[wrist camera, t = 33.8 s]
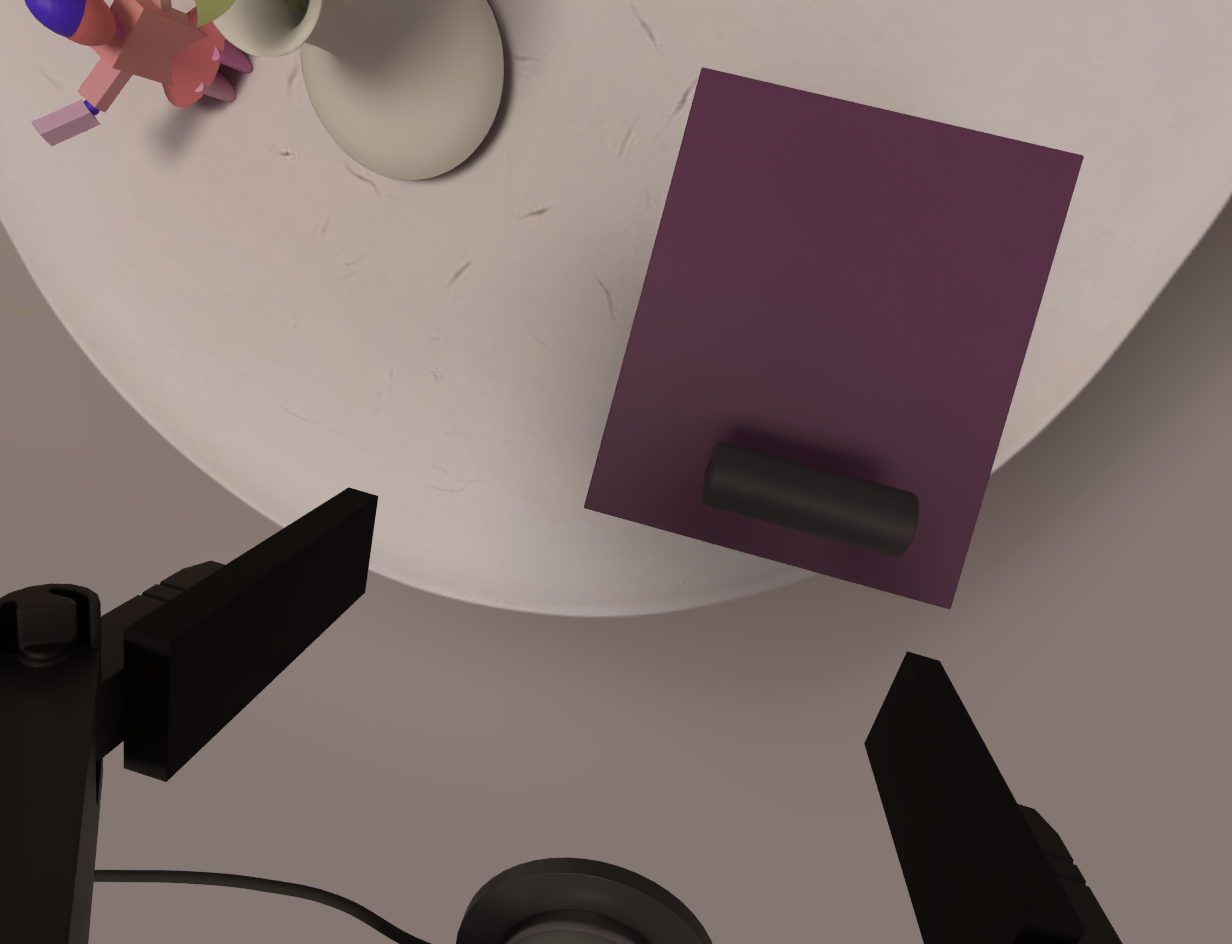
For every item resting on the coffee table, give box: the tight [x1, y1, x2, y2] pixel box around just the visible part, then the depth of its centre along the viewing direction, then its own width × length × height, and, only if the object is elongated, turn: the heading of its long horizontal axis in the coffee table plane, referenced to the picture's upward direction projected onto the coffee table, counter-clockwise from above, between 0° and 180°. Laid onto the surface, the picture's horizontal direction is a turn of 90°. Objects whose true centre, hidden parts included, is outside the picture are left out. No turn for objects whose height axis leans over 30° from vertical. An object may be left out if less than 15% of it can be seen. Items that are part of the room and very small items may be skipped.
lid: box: [584, 68, 1083, 609], centre depth 22 cm, size 16×14×6 cm
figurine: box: [25, 0, 252, 146], centre depth 35 cm, size 3×12×11 cm, turn 140°
